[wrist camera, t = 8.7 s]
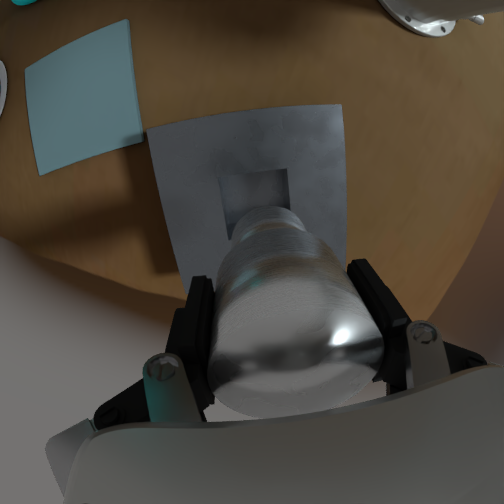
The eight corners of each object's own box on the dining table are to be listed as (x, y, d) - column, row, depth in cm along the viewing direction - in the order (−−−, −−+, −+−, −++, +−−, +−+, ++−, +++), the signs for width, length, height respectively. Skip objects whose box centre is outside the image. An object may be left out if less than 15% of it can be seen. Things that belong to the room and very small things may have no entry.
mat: (129, 21, 18) (126, 18, 18) (144, 141, 25) (142, 141, 24) (28, 69, 19) (24, 69, 18) (43, 174, 25) (39, 176, 24)
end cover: (316, 191, 15) (403, 293, 7) (315, 276, 18) (365, 404, 9) (215, 200, 15) (187, 320, 7) (227, 285, 18) (223, 424, 9)
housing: (323, 106, 24) (341, 104, 20) (330, 249, 32) (345, 272, 27) (161, 127, 24) (146, 129, 20) (192, 268, 32) (186, 294, 27)
